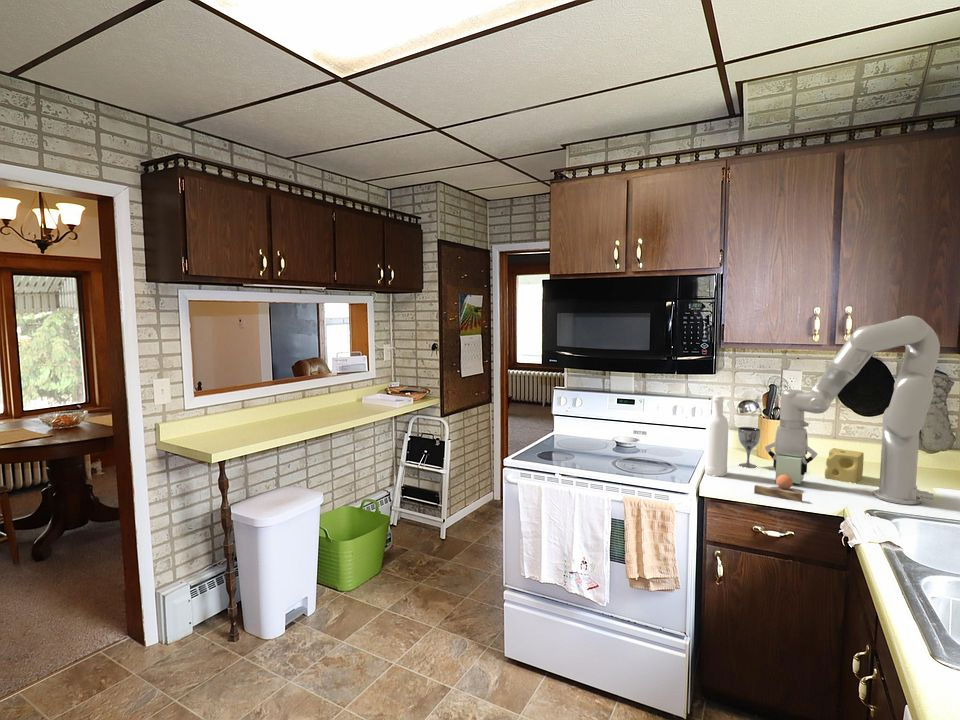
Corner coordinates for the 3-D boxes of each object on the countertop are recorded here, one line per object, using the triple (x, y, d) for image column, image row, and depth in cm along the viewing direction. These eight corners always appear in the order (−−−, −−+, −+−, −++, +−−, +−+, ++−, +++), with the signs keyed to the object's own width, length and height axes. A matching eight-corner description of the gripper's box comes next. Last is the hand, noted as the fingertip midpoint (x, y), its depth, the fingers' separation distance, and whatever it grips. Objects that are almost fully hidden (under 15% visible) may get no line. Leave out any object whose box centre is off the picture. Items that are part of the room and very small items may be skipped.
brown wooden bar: (802, 500, 180) (802, 493, 180) (801, 502, 179) (801, 494, 178) (755, 492, 189) (755, 485, 188) (754, 493, 187) (754, 486, 187)
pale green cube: (803, 478, 200) (804, 454, 199) (799, 483, 194) (800, 459, 193) (779, 474, 205) (780, 451, 204) (775, 480, 199) (776, 456, 198)
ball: (790, 478, 188) (790, 492, 189) (793, 473, 192) (793, 487, 192) (774, 476, 191) (774, 489, 192) (777, 471, 195) (777, 484, 196)
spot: (799, 490, 190) (799, 490, 190) (794, 497, 183) (794, 497, 183) (770, 485, 195) (770, 485, 195) (764, 492, 188) (764, 491, 188)
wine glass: (756, 469, 215) (758, 432, 214) (735, 466, 220) (736, 429, 219) (760, 465, 221) (762, 428, 220) (739, 462, 226) (740, 426, 225)
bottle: (704, 469, 215) (706, 394, 213) (726, 471, 213) (728, 394, 210) (704, 475, 208) (707, 397, 205) (727, 477, 205) (730, 398, 203)
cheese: (824, 478, 204) (825, 452, 203) (831, 472, 211) (832, 446, 210) (857, 484, 196) (859, 457, 195) (864, 478, 204) (865, 451, 203)
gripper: (821, 425, 195) (819, 474, 196) (767, 419, 206) (765, 465, 207) (818, 429, 189) (816, 479, 190) (762, 423, 200) (760, 470, 201)
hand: (789, 471), depth 199 cm, fingers closed on pale green cube, 7 cm apart
